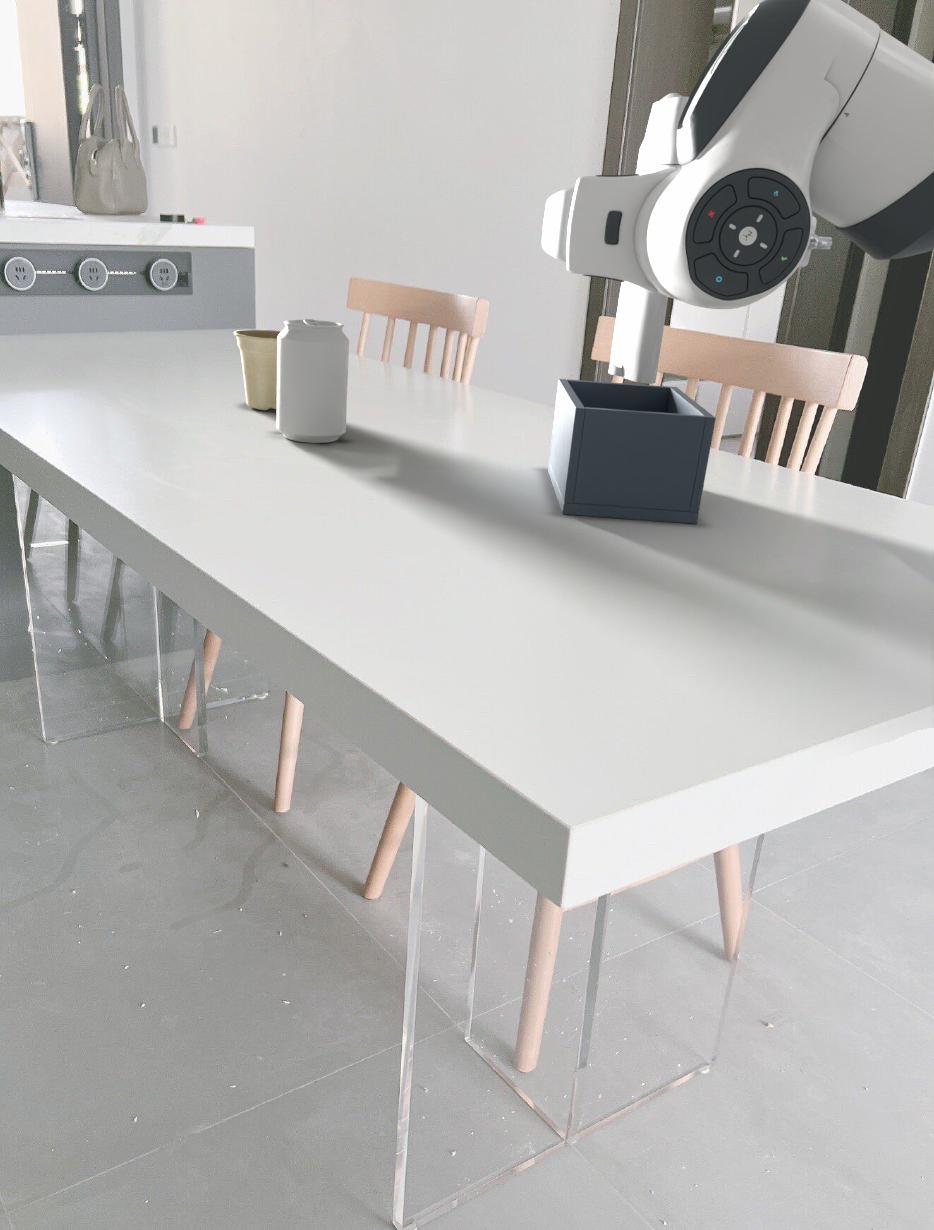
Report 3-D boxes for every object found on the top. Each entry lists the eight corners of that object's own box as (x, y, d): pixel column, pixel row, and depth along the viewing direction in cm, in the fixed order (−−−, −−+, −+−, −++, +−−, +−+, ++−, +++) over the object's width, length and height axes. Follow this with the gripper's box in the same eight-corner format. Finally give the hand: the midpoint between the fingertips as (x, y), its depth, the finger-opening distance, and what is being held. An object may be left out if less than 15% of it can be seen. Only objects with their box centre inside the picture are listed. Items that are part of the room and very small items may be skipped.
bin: (662, 478, 107) (677, 386, 104) (696, 524, 91) (715, 417, 88) (547, 470, 108) (558, 378, 104) (562, 514, 92) (575, 407, 88)
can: (289, 445, 111) (291, 324, 106) (267, 431, 117) (268, 316, 112) (355, 443, 114) (360, 325, 109) (331, 429, 120) (334, 317, 115)
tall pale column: (593, 366, 99) (628, 97, 90) (636, 369, 100) (675, 101, 91) (626, 383, 90) (669, 83, 80) (673, 385, 90) (721, 88, 81)
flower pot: (321, 406, 134) (323, 334, 131) (295, 417, 126) (296, 340, 122) (251, 398, 136) (252, 327, 133) (221, 408, 128) (221, 333, 124)
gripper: (851, 194, 74) (794, 198, 86) (557, 173, 74) (543, 181, 87) (830, 291, 76) (777, 282, 89) (546, 271, 77) (534, 264, 89)
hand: (659, 232), depth 88 cm, fingers closed on tall pale column, 2 cm apart
